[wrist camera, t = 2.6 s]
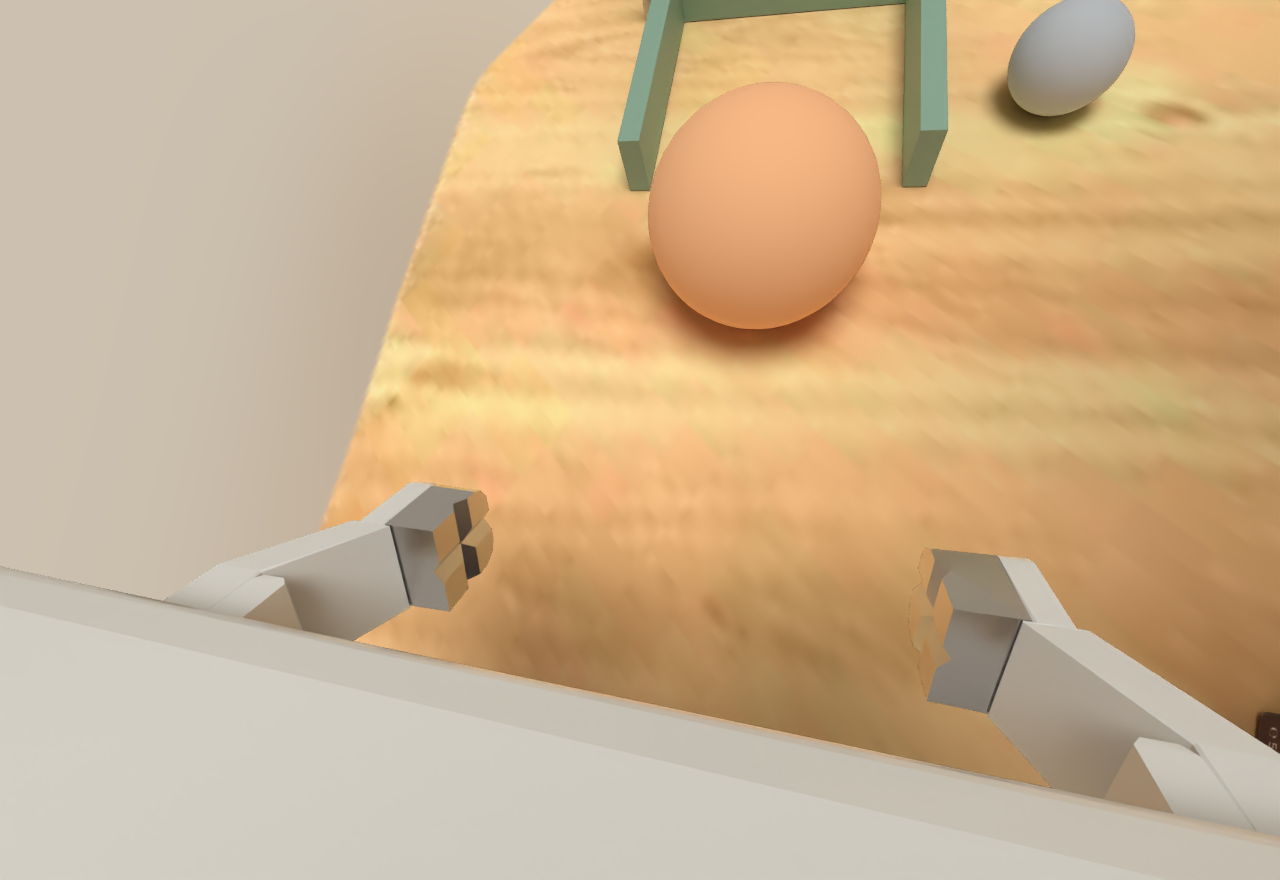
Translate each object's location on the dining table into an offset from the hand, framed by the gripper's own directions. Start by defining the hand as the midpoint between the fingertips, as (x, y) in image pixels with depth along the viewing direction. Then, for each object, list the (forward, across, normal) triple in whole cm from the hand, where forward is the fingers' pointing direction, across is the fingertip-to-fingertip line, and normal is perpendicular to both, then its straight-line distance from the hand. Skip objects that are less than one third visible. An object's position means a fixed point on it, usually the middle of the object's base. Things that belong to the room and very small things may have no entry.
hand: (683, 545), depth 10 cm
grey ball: (+29, -14, -12) cm, 34 cm away
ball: (+19, 0, -5) cm, 19 cm away
